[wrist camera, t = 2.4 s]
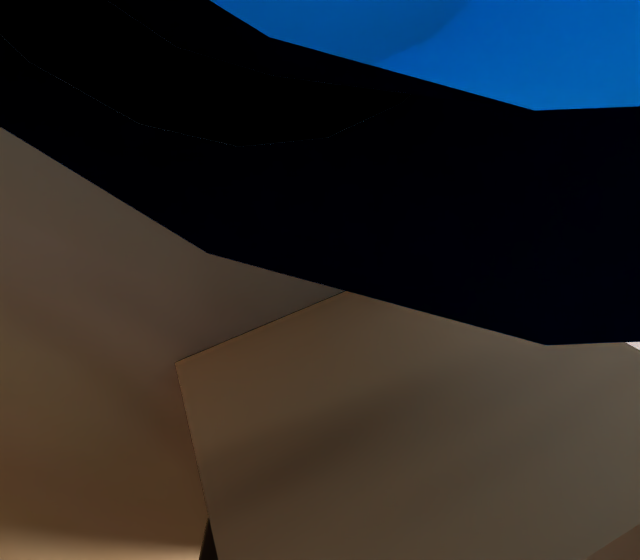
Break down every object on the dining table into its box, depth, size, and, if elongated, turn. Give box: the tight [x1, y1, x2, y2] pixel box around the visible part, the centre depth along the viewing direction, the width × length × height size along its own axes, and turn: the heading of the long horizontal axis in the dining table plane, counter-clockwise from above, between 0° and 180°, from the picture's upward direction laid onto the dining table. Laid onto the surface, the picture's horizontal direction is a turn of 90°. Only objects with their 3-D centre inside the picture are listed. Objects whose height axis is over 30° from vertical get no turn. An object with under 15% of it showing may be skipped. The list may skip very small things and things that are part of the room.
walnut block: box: [175, 291, 640, 560], centre depth 7 cm, size 5×5×5 cm
